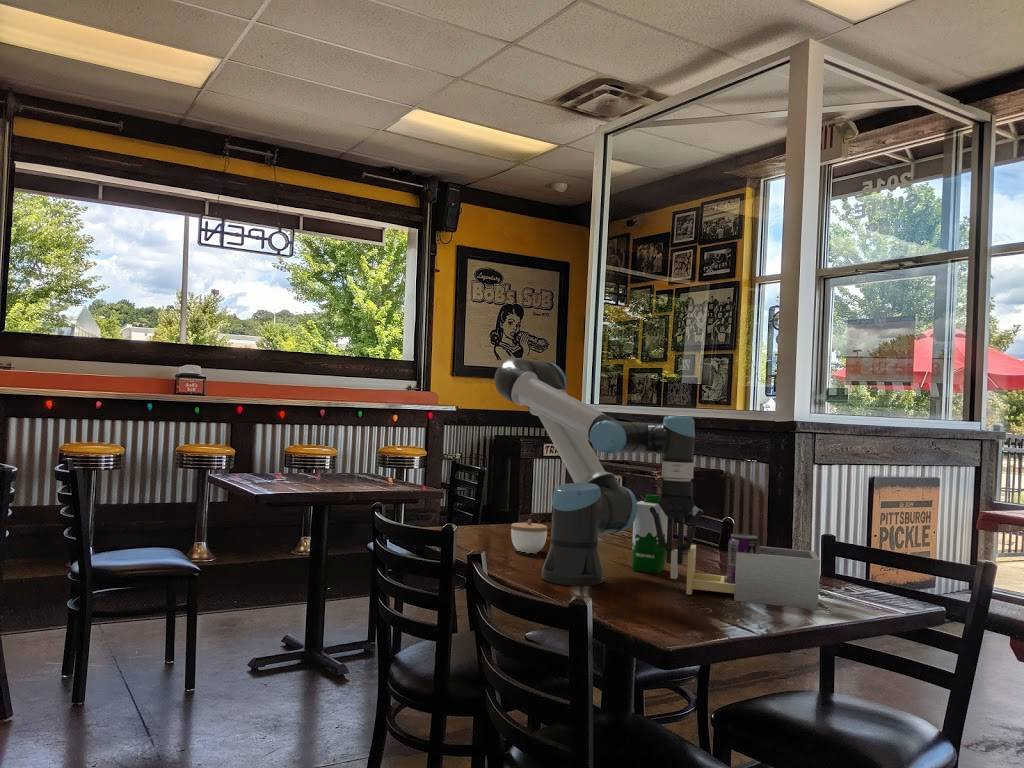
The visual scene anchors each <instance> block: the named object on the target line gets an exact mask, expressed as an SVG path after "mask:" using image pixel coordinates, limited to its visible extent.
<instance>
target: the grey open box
mask: <svg viewBox="0 0 1024 768" xmlns="http://www.w3.org/2000/svg"><path fill="white" fill-rule="evenodd" d="M820 561H821V560H820V558H819V557H818V555H817V553H816V552H815V551H814V550H805V549H803V550H802V549H794V548H783V547H771V546H762V545H760V547H759V554H756V553H745V552H736V570H735V593H733V597H734V598H733V599H734V600H733V601H734V602H742V603H751V604H761V605H771V606H779V607H787V608H788V607H789V608H796V607H797V609H805V608H806V609H807V610H816V611H818V610H819V591H820V590H819V588H820V587H819V585H820V565H821V564H820V563H821V562H820Z"/></svg>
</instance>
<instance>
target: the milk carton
mask: <svg viewBox="0 0 1024 768" xmlns="http://www.w3.org/2000/svg"><path fill="white" fill-rule="evenodd" d="M660 498H661V494H651V493H650V494H645V499H644V500H640V501H637V513H636V518H635V520H634V522H633V524H632V546H631V548H632V549H631V555H632V557H631V558H632V560H631V561H632V564H631V565H632V571H634V572H642V573H651V574H659V573H661V572H662V571H664V569H665V563H666V562H665V561H666V557H667V550H666V549H665V548H663V547H660V546H659V541H658V536H657V531H656V526H655V522H654V517H653V515H652V513H651V512H650V508H651V507H652V506H655V505H657V504H658V503H659V500H660ZM659 516H660V520H661V525H662V530H663V535H664V540H665V542H666V543H667V524H668V521H667V519H668V517H667V516H666V515H665V513H664V512H663V510H662V509H661V507H660V513H659Z"/></svg>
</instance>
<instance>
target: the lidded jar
mask: <svg viewBox="0 0 1024 768" xmlns="http://www.w3.org/2000/svg"><path fill="white" fill-rule="evenodd" d="M510 528H511V529H510V535H511V542H512V544H513V547H514V548H515V550H517V552H518V551H521V552H526V553H525V554H529V553H533V554H538V553H539V551H541V550H542V549H543V548H544V546H545V543H546V542H547V541H546V540H547V536H548V525H545V524H541V523H534V522H532V519H530V518H529V519H528V520H527V522H513V523H512V524H510ZM521 552H520V553H521ZM537 552H538V553H537Z"/></svg>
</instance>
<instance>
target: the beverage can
mask: <svg viewBox="0 0 1024 768" xmlns="http://www.w3.org/2000/svg"><path fill="white" fill-rule="evenodd" d="M758 538H759V537H758V536H757V535H753V534H747V533H746V534H745V533H731V534H730V538H729V540H728V544H727V545H728V546H727V549H728V550H727V565H726V566H727V569H726V570H727V571H726V573H727V574H726V576H727V583H729V584H735V570H736V552H745V553H756V554H759V547H760V546H761V545H760V543H759V540H758Z"/></svg>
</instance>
